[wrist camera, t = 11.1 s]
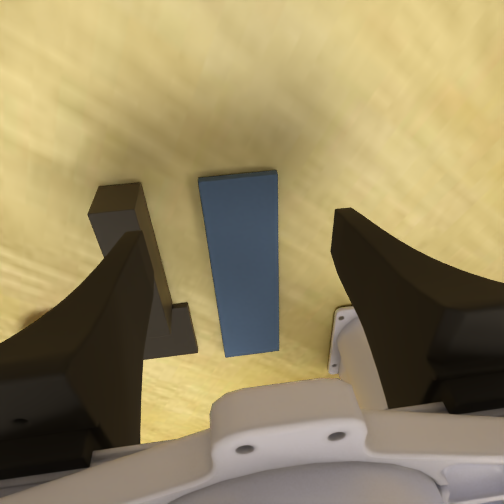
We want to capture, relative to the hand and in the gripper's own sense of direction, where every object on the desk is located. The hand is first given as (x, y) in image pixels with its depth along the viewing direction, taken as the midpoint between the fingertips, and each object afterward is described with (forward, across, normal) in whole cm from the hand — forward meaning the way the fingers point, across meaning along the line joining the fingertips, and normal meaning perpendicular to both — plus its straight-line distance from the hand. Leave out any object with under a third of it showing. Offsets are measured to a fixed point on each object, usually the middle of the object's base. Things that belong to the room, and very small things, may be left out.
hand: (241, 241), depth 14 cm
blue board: (+10, 0, +12) cm, 16 cm away
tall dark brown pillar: (+10, +7, +11) cm, 17 cm away
